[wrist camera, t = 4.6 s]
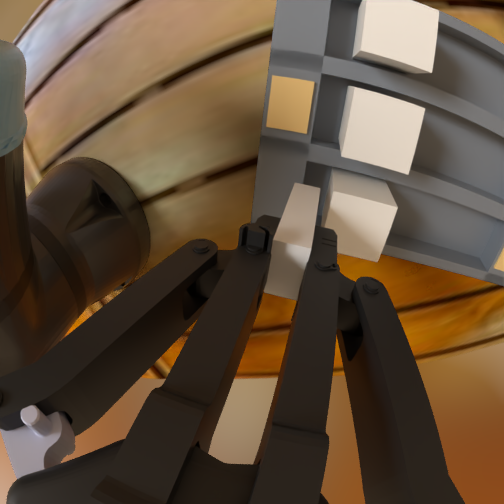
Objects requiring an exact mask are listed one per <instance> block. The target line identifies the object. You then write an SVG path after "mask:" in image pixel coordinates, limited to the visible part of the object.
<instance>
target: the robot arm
mask: <svg viewBox="0 0 504 504" xmlns="http://www.w3.org/2000/svg"><path fill="white" fill-rule="evenodd" d="M25 81H26V62H25V58H24V56H23V53H22V52H21V51H20V49H19V48H18V47H17V46H15V45H14V44H12V43H10V42H7V41H3V40H0V431H1V433H2V437H3V440H4V444H5V447H6V450H7V453H8V456H9V459H10V462H11V465H12V467H13V470H14V473H15V475H16V478H17V480H16V481H15V482H14V483H13V484H12V486H11V487H10V489H9V491H8V495H7V502H6V504H329V503H328V501H327V500H326V499H325V497H324V496H323V495H322V494H321V493H320V492H321V487H322V482H323V477H324V472H325V466H326V461H327V455H328V449H329V436H328V435H327V434H326V421H327V415H328V408H329V399H330V392H331V384H332V375H333V365H334V355H335V344H336V334H337V339H338V343H339V348H340V353H341V357H342V362H343V367H344V372H345V377H346V382H347V388H348V393H349V398H350V404H351V410H352V415H353V421H354V427H355V433H356V439H357V446H358V453H359V460H360V468H361V475H362V483H363V491H364V497H365V503H366V504H465V502H464V501H463V499H462V497H461V496H460V494H459V492H458V490H457V489H456V487H455V485H454V484H453V482H452V480H451V478H450V477H449V475H448V470H447V466H446V461H445V457H444V453H443V449H442V445H441V441H440V437H439V433H438V430H437V426H436V423H435V419H434V415H433V412H432V409H431V406H430V402H429V399H428V396H427V393H426V390H425V387H424V384H423V381H422V378H421V375H420V372H419V369H418V367H417V364H416V361H415V358H414V356H413V353H412V350H411V348H410V345H409V342H408V340H407V337H406V335H405V332H404V330H403V327H402V325H401V322H400V320H399V318H398V315H397V313H396V310H395V308H394V306H393V303H392V301H391V299H390V297H389V294H388V292H387V290H386V288H385V287H384V285H383V284H382V283H381V282H379V281H378V280H376V279H374V278H371V277H361V278H359V279H357V281H356V282H355V281H352V280H350V279H348V278H347V277H345V276H344V275H342V274H341V273H340V269H339V265H338V264H337V234H336V233H335V231H334V230H333V229H329V228H325V227H321V226H316V225H315V223H316V216H317V209H318V202H319V195H320V188H317V187H313V186H309V185H304V184H300V183H295V184H294V186H293V189H292V191H291V194H290V197H289V199H288V202H287V205H286V207H285V210H284V213H283V215H282V218H278V217H274V216H269V215H265V214H264V215H262V216H261V217H259V218H258V219H257V220H256V222H255V223H248V224H245V225H243V226H241V227H240V232H239V242H238V247H237V249H235V250H218V246H217V245H216V244H215V243H214V242H212V241H211V240H207V239H195V240H192V241H190V242H188V243H187V244H185V245H184V246H182V247H181V248H180V249H178V250H177V251H176V252H174V253H173V254H171V255H170V256H169V257H167V258H166V259H165V260H163V261H162V262H161V263H159V264H158V265H157V266H155V267H154V268H153V269H151V270H150V271H149V272H147V273H146V274H145V275H143V276H142V277H141V278H139V279H138V280H137V281H135V282H134V283H133V284H131V285H130V286H129V287H128V288H126V289H125V290H124V291H122V292H121V293H120V294H119V295H117V296H116V297H115V298H113V299H112V300H111V301H110V302H108V303H107V304H106V305H105V306H103V307H102V308H101V309H99V310H98V311H97V312H96V313H94V314H93V315H92V316H91V317H89V318H88V319H87V320H86V321H84V322H83V323H82V324H81V325H80V326H78V327H77V328H76V329H75V330H73V331H72V332H71V333H70V334H69V335H67V336H66V337H65V338H64V339H63V340H61V339H62V338H63V337H64V335H65V334H66V333H67V332H68V330H69V329H70V328H71V327H72V325H73V324H74V323H75V321H76V320H77V319H78V318H79V316H80V315H81V314H82V313H83V312H84V311H85V309H86V308H87V307H88V306H90V305H92V304H93V303H95V302H97V301H99V300H101V299H102V298H104V297H106V296H107V295H109V294H110V293H111V292H112V291H115V290H119V289H121V288H123V287H125V286H126V285H128V284H129V283H130V282H131V281H132V280H133V279H134V278H135V277H136V276H137V275H138V273H139V272H140V271H141V270H142V269H143V267H144V266H145V264H146V262H147V259H148V256H149V251H150V235H149V229H148V224H147V221H146V218H145V215H144V212H143V210H142V208H141V205H140V203H139V202H138V200H137V198H136V196H135V195H134V193H133V192H132V190H131V189H130V187H129V186H128V185H127V184H126V182H125V181H124V180H123V179H122V178H121V177H120V176H119V175H118V174H117V173H116V172H115V171H113V170H112V169H111V168H110V167H108V166H107V165H105V164H103V163H101V162H99V161H97V160H94V159H91V158H86V157H77V158H72V159H70V160H68V161H66V162H64V163H62V164H60V165H58V166H56V167H54V168H53V169H52V170H50V171H49V172H48V173H47V174H46V175H45V177H44V178H43V179H42V180H41V181H40V182H39V184H38V185H37V186H36V187H35V189H34V190H33V191H32V192H31V194H30V195H29V196H28V197H27V199H26V194H25V181H24V158H23V139H24V136H25V134H26V129H27V118H26V114H25V112H24V100H25ZM264 288H265V289H264ZM263 291H264V293H268V294H272V295H276V296H280V297H284V298H289V299H293V300H297V302H296V306H295V309H294V313H293V316H292V319H291V321H292V323H291V327H290V332H289V336H288V340H287V344H286V349H285V353H284V357H283V361H282V365H281V369H280V373H279V377H278V381H277V385H276V388H275V392H274V396H273V400H272V403H271V407H270V411H269V414H268V418H267V422H266V425H265V429H264V432H263V436H262V439H261V443H260V446H259V449H258V452H257V455H256V458H255V461H254V464H253V465H250V464H248V465H247V464H227V463H223V462H221V461H219V460H218V459H216V458H214V457H213V456H211V455H209V454H208V451H209V448H210V444H211V440H212V437H213V434H214V431H215V429H216V426H217V423H218V420H219V417H220V415H221V413H222V410H223V407H224V405H225V402H226V399H227V396H228V394H229V391H230V388H231V385H232V383H233V380H234V377H235V375H236V372H237V369H238V366H239V364H240V361H241V358H242V355H243V352H244V350H245V347H246V344H247V341H248V338H249V335H250V333H251V330H252V327H253V324H254V321H255V318H256V315H257V313H258V310H259V307H260V304H261V301H262V296H263ZM197 319H198V320H197ZM196 320H197V322H196V324H195V326H194V327H193V329H192V331H191V333H190V335H189V337H188V339H187V341H186V342H185V344H184V346H183V348H182V350H181V352H180V354H179V356H178V357H177V359H176V361H175V363H174V365H173V367H172V369H171V371H170V373H169V374H168V376H167V378H166V380H165V382H164V384H163V385H162V386H161V387H159V388H155V389H154V390H152V391H151V393H150V394H149V396H148V397H147V399H146V401H145V403H144V404H143V406H142V409H141V410H140V412H139V414H138V416H137V418H136V419H135V421H134V423H133V425H132V427H131V429H130V431H129V433H128V434H127V436H126V439H123V440H120V441H117V442H114V443H112V444H110V445H108V446H105V447H103V448H100V449H98V450H95V451H93V452H91V453H88V454H85V455H83V456H80V457H78V458H75V459H72V460H69V461H67V462H64V463H61V461H62V459H63V458H64V457H65V456H66V455H70V454H72V453H73V452H74V450H75V436H76V435H79V434H81V433H82V432H83V431H85V430H86V429H88V428H89V427H91V426H92V425H93V424H94V423H95V422H97V421H98V420H99V419H100V418H101V417H102V416H103V415H104V414H105V413H106V412H107V411H108V410H109V409H110V408H111V407H112V406H113V405H114V404H115V403H116V402H117V401H118V400H119V399H120V398H121V397H122V396H123V395H124V394H125V392H127V390H128V389H130V387H131V386H132V385H133V384H134V383H135V382H136V381H137V380H138V379H139V378H140V377H141V376H142V375H143V374H144V373H145V372H146V371H147V370H148V369H149V368H150V367H151V366H152V365H153V364H154V363H155V362H156V361H157V360H158V359H159V358H160V357H161V356H162V355H163V354H164V353H165V352H166V351H167V350H168V349H169V348H170V347H171V346H172V345H173V343H174V342H175V341H176V340H177V339H178V338H179V337H180V336H181V335H182V334H183V333H184V332H185V331H186V330H187V329H188V328H189V327H190V326H191V325H192V324H193V323H194V322H195V321H196ZM60 463H61V464H60Z"/></svg>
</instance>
